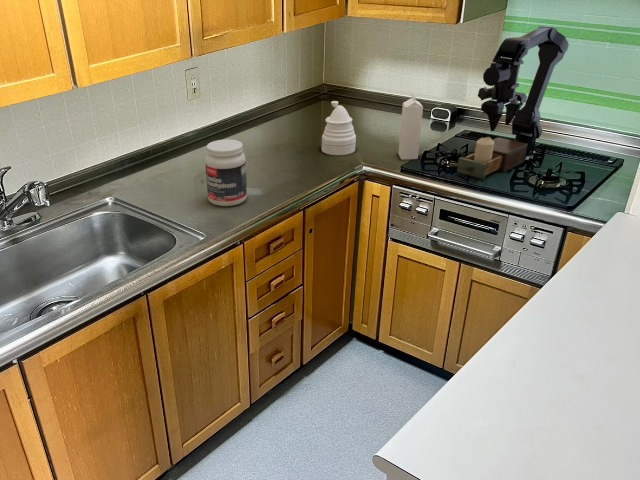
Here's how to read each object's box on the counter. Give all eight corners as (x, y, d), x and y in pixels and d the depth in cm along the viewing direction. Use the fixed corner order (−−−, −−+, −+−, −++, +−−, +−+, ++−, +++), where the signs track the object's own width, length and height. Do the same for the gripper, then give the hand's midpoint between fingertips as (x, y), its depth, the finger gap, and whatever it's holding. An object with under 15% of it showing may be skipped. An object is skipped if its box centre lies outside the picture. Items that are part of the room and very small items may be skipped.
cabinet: (503, 172, 212) (507, 153, 209) (474, 164, 220) (477, 146, 216) (524, 162, 220) (528, 143, 216) (495, 155, 227) (498, 137, 224)
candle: (483, 163, 215) (488, 134, 210) (493, 168, 211) (498, 139, 205) (469, 165, 214) (473, 136, 209) (479, 170, 210) (483, 141, 204)
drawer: (481, 179, 205) (483, 165, 203) (454, 172, 212) (456, 159, 209) (503, 168, 213) (505, 155, 210) (477, 162, 219) (479, 148, 217)
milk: (401, 159, 228) (406, 98, 216) (398, 154, 233) (403, 93, 221) (418, 159, 227) (424, 97, 216) (414, 153, 233) (420, 93, 221)
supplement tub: (204, 207, 199) (200, 151, 190) (211, 192, 210) (207, 138, 200) (244, 208, 197) (242, 151, 188) (249, 192, 208) (247, 138, 199)
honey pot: (318, 154, 237) (319, 106, 228) (325, 143, 248) (326, 97, 238) (352, 156, 234) (354, 107, 224) (357, 145, 244) (360, 98, 234)
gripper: (500, 71, 214) (492, 117, 222) (469, 82, 204) (463, 129, 213) (531, 76, 207) (522, 123, 215) (501, 87, 197) (493, 136, 205)
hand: (499, 127), depth 212 cm, fingers open, 9 cm apart
